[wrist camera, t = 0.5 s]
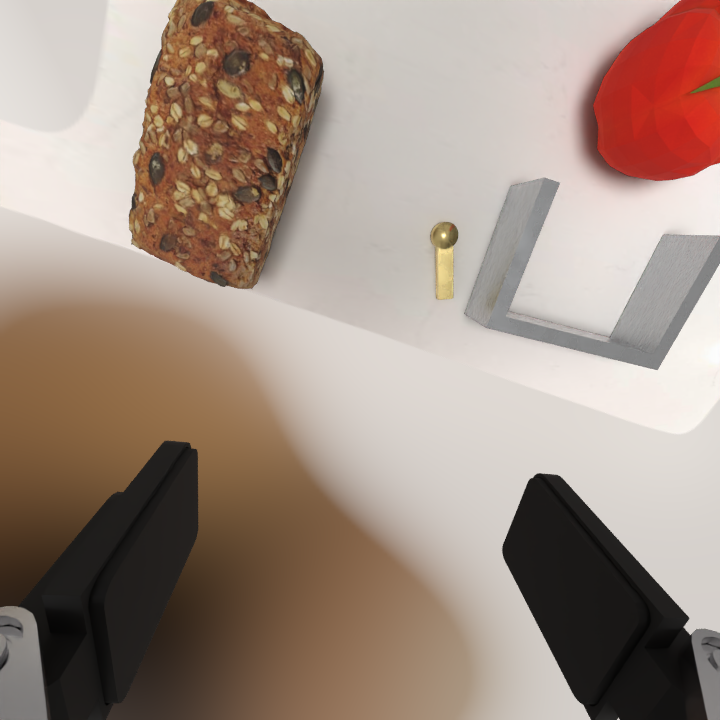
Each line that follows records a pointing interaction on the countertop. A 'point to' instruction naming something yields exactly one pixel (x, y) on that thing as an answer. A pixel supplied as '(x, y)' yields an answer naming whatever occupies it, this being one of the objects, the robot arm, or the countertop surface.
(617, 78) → the tomato
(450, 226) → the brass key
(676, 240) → the grey u-shaped bracket
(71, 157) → the countertop surface
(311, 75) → the bread
